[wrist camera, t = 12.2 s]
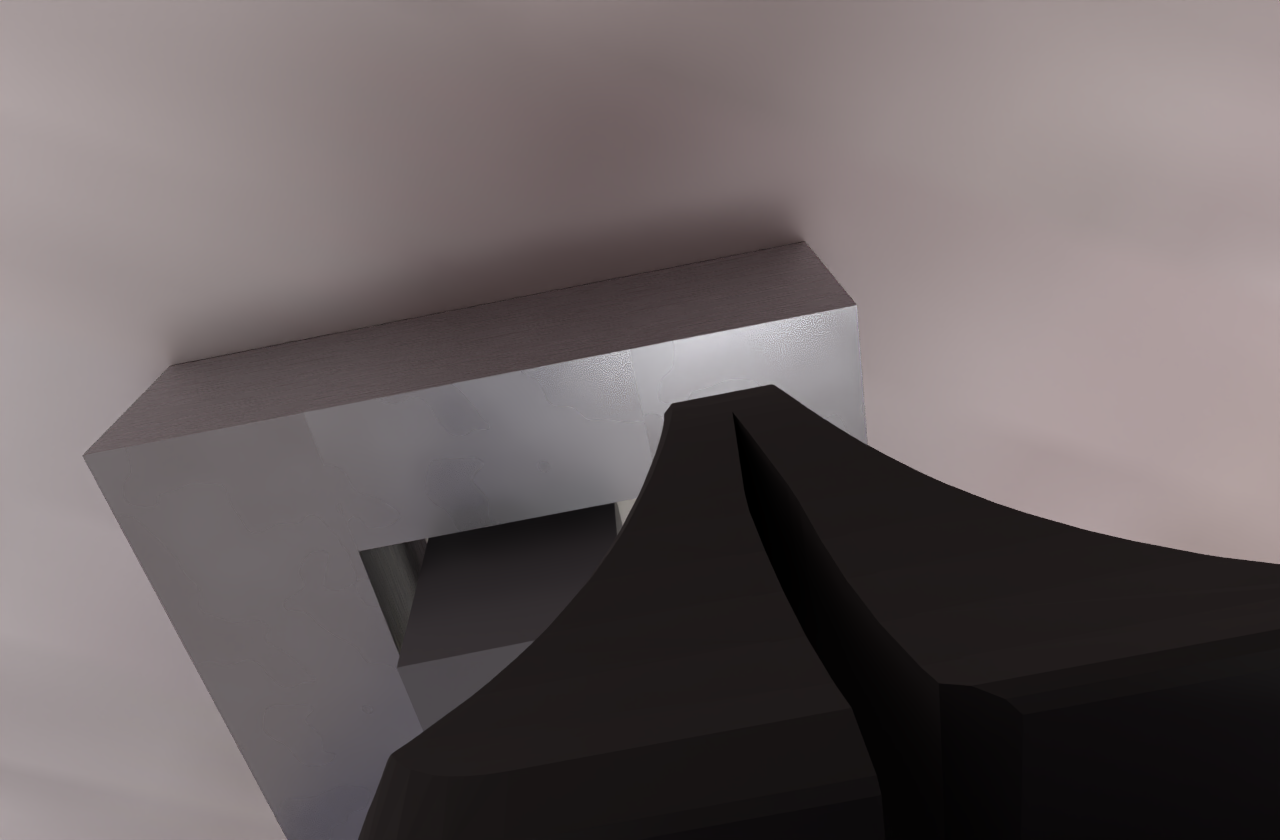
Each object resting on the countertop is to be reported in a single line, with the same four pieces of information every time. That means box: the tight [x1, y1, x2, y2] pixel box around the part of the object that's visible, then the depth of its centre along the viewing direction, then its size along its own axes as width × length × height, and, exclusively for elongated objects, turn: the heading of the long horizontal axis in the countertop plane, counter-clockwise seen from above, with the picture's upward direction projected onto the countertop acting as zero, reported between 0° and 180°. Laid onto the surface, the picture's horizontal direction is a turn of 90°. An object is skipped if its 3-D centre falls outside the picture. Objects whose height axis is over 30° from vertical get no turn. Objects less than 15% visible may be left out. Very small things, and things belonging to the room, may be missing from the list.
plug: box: [397, 502, 623, 731], centre depth 19 cm, size 4×5×6 cm
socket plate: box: [83, 242, 867, 840], centre depth 21 cm, size 14×13×4 cm
